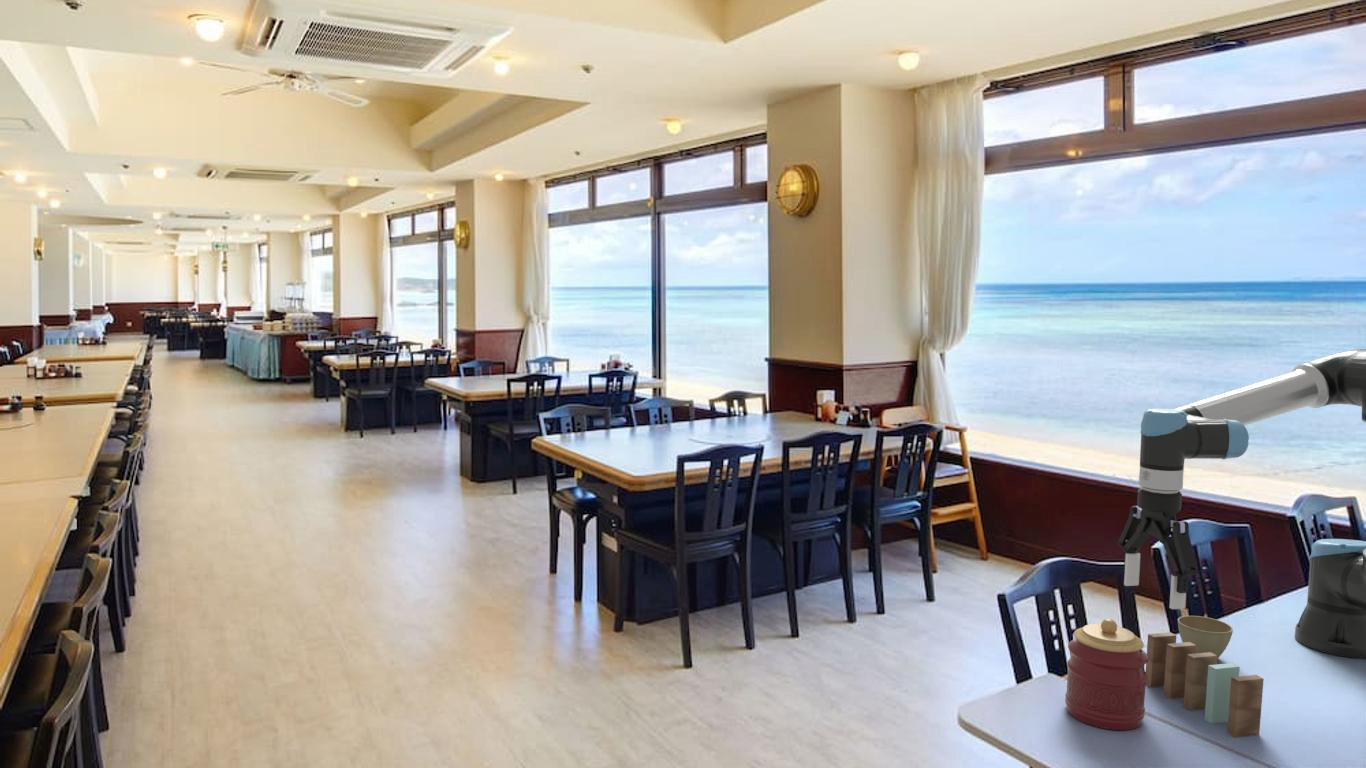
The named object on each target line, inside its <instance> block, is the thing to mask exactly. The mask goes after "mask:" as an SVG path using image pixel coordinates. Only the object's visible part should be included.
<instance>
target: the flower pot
mask: <svg viewBox="0 0 1366 768" xmlns="http://www.w3.org/2000/svg"><path fill="white" fill-rule="evenodd" d="M1177 626H1178V632H1179V636H1180V640H1181V643H1183V642H1191V643H1193V644H1195V645H1196V653H1208V652H1211V653H1213V654H1215V655H1217V660H1218V659H1219V658H1220V657H1221V655H1223V653H1224V652H1225V650H1226V649H1227V647H1228V646H1229V643H1230V641H1231V639H1232V635H1233V631H1234V628H1233V626H1231V625H1230V624H1228V623H1226V622H1225V621H1222V620H1219V619H1216V618H1211V617H1208V616H1207V617H1206V616H1201V615H1182V616H1179V617H1178V618H1177Z"/></svg>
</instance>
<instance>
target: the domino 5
mask: <svg viewBox="0 0 1366 768" xmlns="http://www.w3.org/2000/svg"><path fill="white" fill-rule="evenodd" d="M1263 691H1264V677H1261V676H1259V675H1257V674H1250V675H1239V676H1238V677H1231V688H1230V701H1229V715H1228V722H1227V729H1226V734H1228V735H1230V736H1232V737H1233V738H1241V737H1250V736H1259V735H1260V731H1261V728H1260V727H1261V718H1262V705H1263Z"/></svg>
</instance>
